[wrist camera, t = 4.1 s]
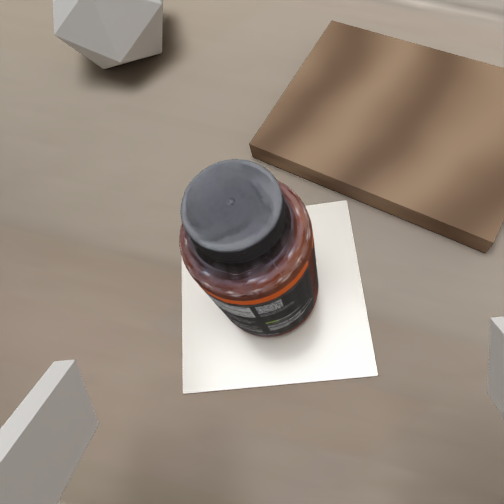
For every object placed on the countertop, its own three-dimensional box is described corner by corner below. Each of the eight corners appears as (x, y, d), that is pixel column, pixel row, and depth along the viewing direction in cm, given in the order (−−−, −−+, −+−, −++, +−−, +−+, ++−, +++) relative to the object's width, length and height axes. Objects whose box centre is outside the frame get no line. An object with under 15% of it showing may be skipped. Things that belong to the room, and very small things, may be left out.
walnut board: (252, 156, 31) (249, 143, 30) (331, 37, 34) (331, 20, 33) (484, 253, 26) (493, 242, 25) (553, 101, 29) (564, 85, 28)
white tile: (183, 393, 26) (182, 393, 25) (181, 223, 30) (181, 223, 30) (377, 375, 24) (378, 375, 24) (346, 200, 29) (346, 199, 29)
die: (181, 7, 39) (82, -89, 34) (206, 14, 32) (86, -106, 27) (127, 83, 41) (24, 3, 35) (139, 105, 34) (13, 9, 28)
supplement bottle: (266, 228, 29) (231, 110, 18) (339, 285, 26) (346, 188, 16) (201, 296, 28) (125, 211, 17) (272, 361, 25) (233, 309, 15)
